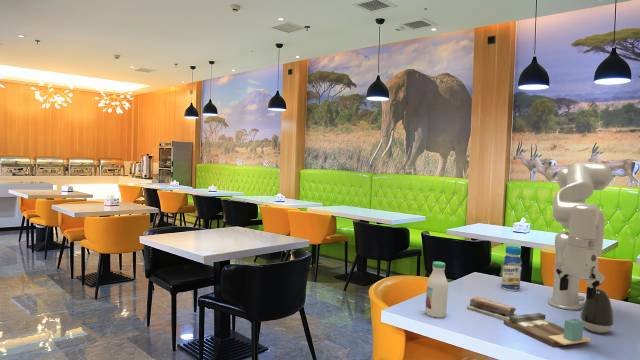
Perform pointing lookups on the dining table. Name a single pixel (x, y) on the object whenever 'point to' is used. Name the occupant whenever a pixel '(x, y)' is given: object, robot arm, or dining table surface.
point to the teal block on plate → (571, 333)
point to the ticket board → (536, 327)
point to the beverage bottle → (511, 269)
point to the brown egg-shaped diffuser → (598, 313)
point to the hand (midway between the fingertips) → (576, 294)
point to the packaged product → (491, 308)
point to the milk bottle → (437, 292)
